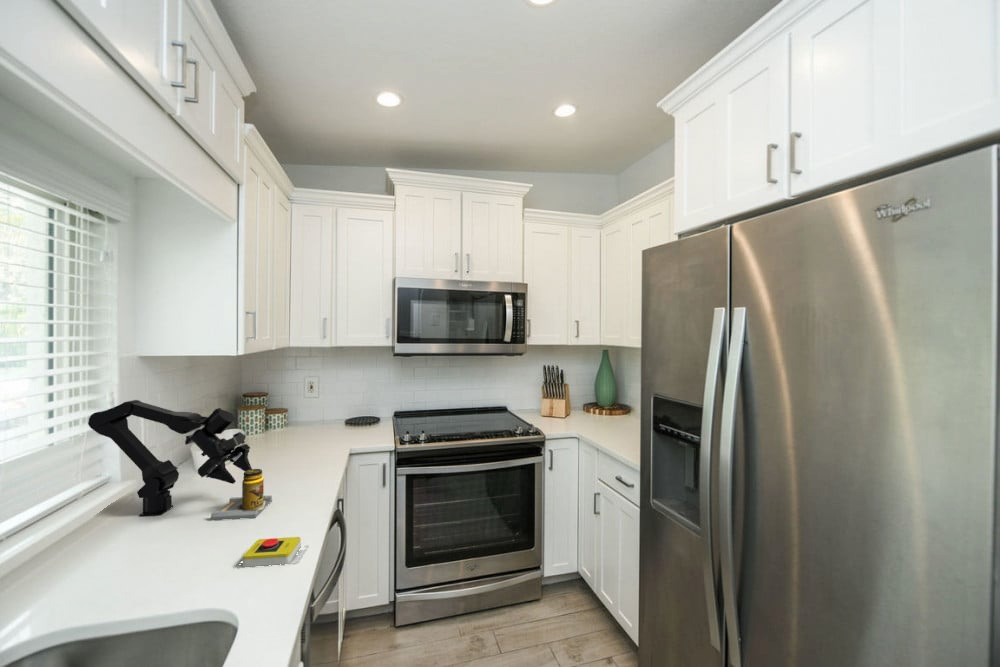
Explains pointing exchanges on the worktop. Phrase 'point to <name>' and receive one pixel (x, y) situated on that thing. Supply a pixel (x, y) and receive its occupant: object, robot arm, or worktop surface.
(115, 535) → the worktop surface
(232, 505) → the mounting plate
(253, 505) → the condiment
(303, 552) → the emergency button
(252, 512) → the guide rails
